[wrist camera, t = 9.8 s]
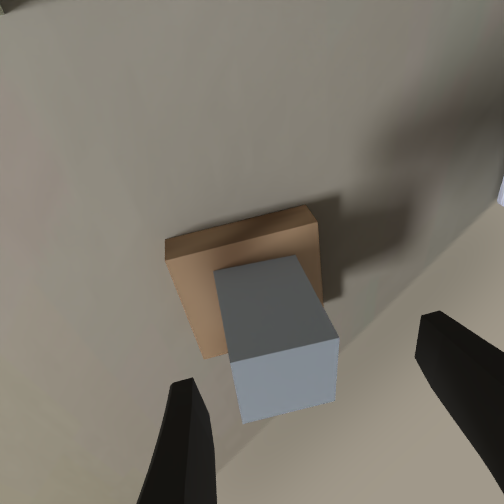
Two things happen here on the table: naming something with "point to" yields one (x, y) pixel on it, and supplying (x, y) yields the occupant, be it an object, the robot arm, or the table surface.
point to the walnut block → (237, 263)
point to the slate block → (276, 338)
